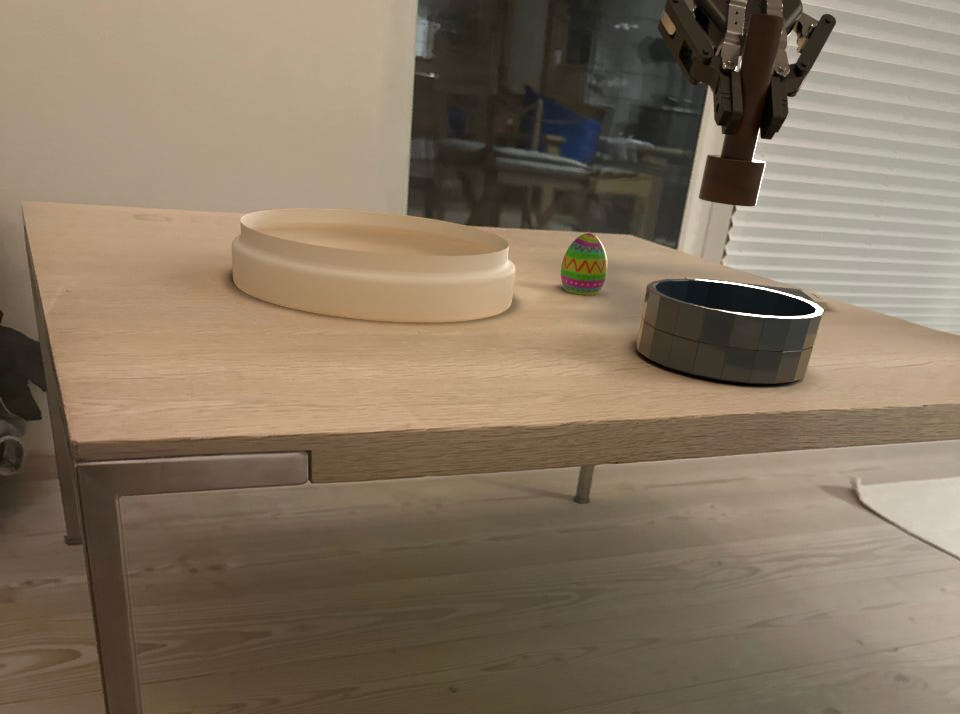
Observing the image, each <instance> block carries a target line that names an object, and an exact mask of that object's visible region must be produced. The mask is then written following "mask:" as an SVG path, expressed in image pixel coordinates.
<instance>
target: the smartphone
mask: <svg viewBox="0 0 960 714" xmlns="http://www.w3.org/2000/svg"><path fill="white" fill-rule="evenodd" d="M684 279H699V280H712V281H721V282H729V283H737V284H743V285H749V286H755V287H760V288H764V289H769V290H773V291H778V292H782V293H786V294H789V295H793V296H796V297H800V298H803V299H805V300H807V301H810V302H812V303H814V304H817V305H818V306H819V307H820V308H822V309H823V310H824V311H825V310H827V307H828V303H829V302H828V301H827V300H825V299H824V298H823V297H821V296H820V295H818V294H817V293H816V292H815V291H812V290H808V289H801V288H800V289H799V288H790V287H781V286H773V285H765V284H756V283H746V282H738V281H731V280H730V281H729V280H721V279H720V280H719V279H711V278H702V277H692V276H684Z"/></svg>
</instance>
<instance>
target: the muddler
mask: <svg viewBox="0 0 960 714" xmlns="http://www.w3.org/2000/svg"><path fill="white" fill-rule="evenodd" d="M784 21H785V17H782V16H777V15H769V14H751V15H750V20H749V25H748V29H747V34H746V39H745V44H744V48H743V53H742V56H741V58H740V63H739V68H738V72H740V76H741V92H742V116H741V119H740V121H739V123H738V125H737V127H736V129H735V131H734V133H733V135H726V134H724V139H723V142H722V149H721V153H720V155H719V154H707V155H706V160H705V164H704V170H703V174H702V179H701V184H700V189H699V194H698V199H699V200H702V201H705V202H710V203H715V204H720V205H729V206H738V207H756V206H757V203H758V198H759V195H760V194H759V193H760V190H761V185H762V182H763V177H764V172H765V168H766V165H767V163H766V161H762V160H758V159H754V156H755V151H756V147H757V142H758V139H759V134H760V126H761V121H762V117H763V113H764V108H765V104H766V99H767V95H768V91H769V86H770V82H771V77H772V73H773V69H774V64H775V60H776V56H777V51H778V47H779V42H780V38H781V34H782V29H783V25H784Z"/></svg>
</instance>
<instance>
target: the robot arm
mask: <svg viewBox="0 0 960 714" xmlns="http://www.w3.org/2000/svg"><path fill="white" fill-rule="evenodd" d="M803 11H804V6H803V2H802V0H666V1H665V4H664V7H663V10H662V13H661V15H660V18H659V21H658V24H657V30H658V32H659V34H660V36H661V37H662V40H663V41H664V43H665V44H666V46H667V48H668V50H669V51H670V53H671V55H672V56H673V58H674V59H675V62H676V63H677V65H678V67H679V68H680V70H681V72H682V73H683V75H684V77H685V79H686V80H687V82H688V83H689V84H691V85H693V86H699V85H701V84H702V83H703V84H705V85H707V86H709V89H710V91H711V93H712V100H713V102H712V103H713V118H714V122H715V124H716V126H718V127H720V128H721V134H722V135H725V134H726V135H733V133H734V131H735V129H736V127H737V125H738V123H739V121H740V119H741V116H742V92H741V76H740V72H739V71H737V68H738V66H739V60H740V59H739V58H740V57H742V53H743V48H744V44H745V39H746V34H747V29H748V25H749V20H750V15H751V14H769V15H777V16H782V17H785V21H784V25H783V29H782V34H781V38H780V42H779V47H778V51H777V56H776V60H775V64H774V69H773V73H772V77H771V82H770V86H769V91H768V95H767V99H766V104H765V108H764V113H763V117H762V121H761V126H760V130H759V134H760V136H759V137H760V139H761V140H767V141H768V140H770V141H771V140H772V139H773V138H774V136H775V134H777V133H779V132H780V131H781V128H782V126H783V125H784V123H785V121H786V120H787V117H788V115H789V112H790V111H789V101H788V100H789V99H788V98H794V97H797V95H798V93H799V92H800V90H801V88H802V86H803V84H804V83H805V80H806V79H807V76H808V75H809V73H810V72H811V70H812V69H813V67H814V66H815V64H816V62H817V59H818V58H819V55H820V54H821V52H822V50H823V49H824V46H825V45H826V43H827V41H828V39H829V37H830V35H831V34H832V32H833V31H834V29H835V26H836V25H837V19H836V17H835V16H834V15H832V14H829V13H824V14H822V15H821V17H820V18H819V20H818V19H816V18H814V17H813V16H811V15H808V14H807V13H805V12H803ZM792 32H794V33H795V35H796V45H797V48H796V52H797V54H799V56H798V58H797V60H796V61H795V63H790V62H789V58H788V53H787V48H788V47H787V46H788V41H789V38H788V37H789V36H790V34H791V33H792Z"/></svg>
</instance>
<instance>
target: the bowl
mask: <svg viewBox="0 0 960 714" xmlns="http://www.w3.org/2000/svg"><path fill="white" fill-rule="evenodd" d="M712 280H713V279H712ZM712 280H699V279H685V278H664V279H657V280H653V281H651V282H649V283H647V285H646V289H645V296H644V302H643V307H642V311H641V318H640V324H639V328H638V334H637V340H636V344H635V345H636V349H637V351H638V353H639V354H641V355H642V356H644V357H646V358H647V359H648V360H650V361H653V362H655V363H656V364H659V365H660V366H663V367H664V368H667V369H670V370H673V371H675V372H679V373H682V374H685V375H689V376H693V377H697V378H702V379H705V380H706V379H707V380H712V381H716V382H717V381H719V382H724V383H731V384H740V385H774V384H784V383H794V382H796V381H799V380H801V379H804V378H805V377H806V374H807V372H808V368H809V365H810V360H811V358H812V354H813V351H814V346H815V344H816V340H817V337H818V332H819V329H820V326H821V323H822V318H823V314H824V311H825V310H823V309H822V308H820V307H819V306H818V305H817V304H814V303H812V302H810V301H807V300H805V299H803V298H800V297H796V296H793V295H789V294H786V293H782V292H778V291H773V290H769V289H764V288H760V287H755V286H749V285H743V284H737V283H729V282H721V281H722V280H721V281H712Z"/></svg>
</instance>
